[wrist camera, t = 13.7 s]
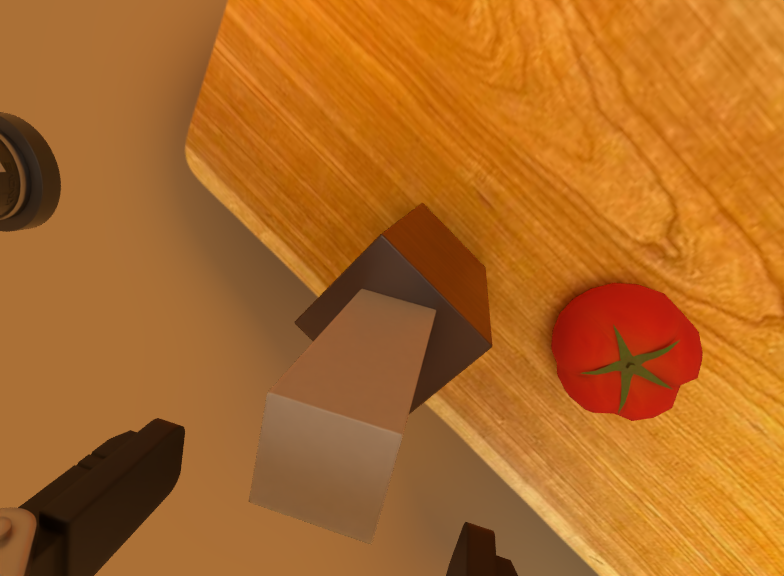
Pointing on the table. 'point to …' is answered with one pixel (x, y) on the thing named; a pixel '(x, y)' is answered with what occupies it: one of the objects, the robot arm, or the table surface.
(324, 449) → the block
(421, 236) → the pedestal
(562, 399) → the table surface
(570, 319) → the tomato
